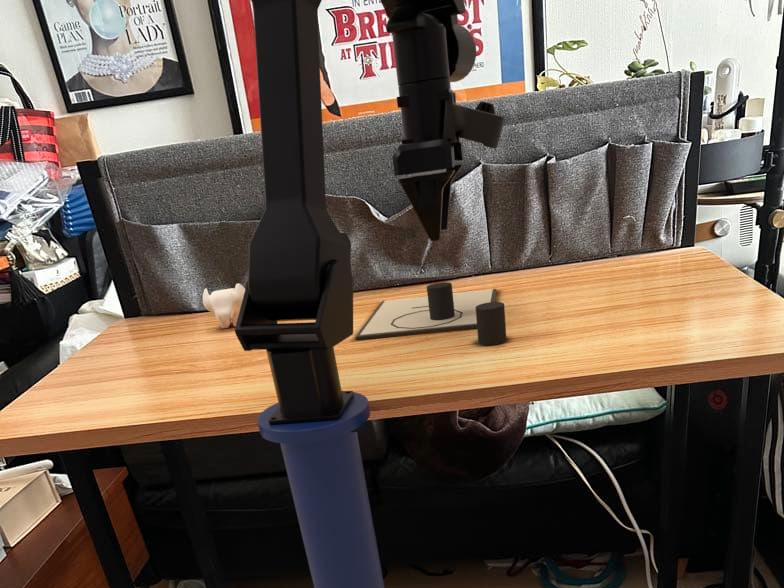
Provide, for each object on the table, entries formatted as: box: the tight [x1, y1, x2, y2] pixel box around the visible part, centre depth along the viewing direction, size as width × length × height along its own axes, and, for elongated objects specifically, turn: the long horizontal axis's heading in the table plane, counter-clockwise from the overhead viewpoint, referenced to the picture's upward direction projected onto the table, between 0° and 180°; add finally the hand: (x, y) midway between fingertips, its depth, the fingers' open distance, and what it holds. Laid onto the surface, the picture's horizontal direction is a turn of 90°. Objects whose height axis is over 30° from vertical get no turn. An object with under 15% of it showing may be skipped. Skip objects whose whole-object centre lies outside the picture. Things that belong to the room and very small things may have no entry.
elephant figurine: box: [202, 283, 246, 329], centre depth 107 cm, size 7×8×6 cm
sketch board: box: [355, 288, 498, 341], centre depth 98 cm, size 20×17×1 cm
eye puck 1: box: [426, 281, 455, 320], centre depth 92 cm, size 3×3×4 cm
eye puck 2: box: [476, 301, 507, 346], centre depth 81 cm, size 3×3×4 cm
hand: (439, 234), depth 87 cm, fingers open, 9 cm apart
